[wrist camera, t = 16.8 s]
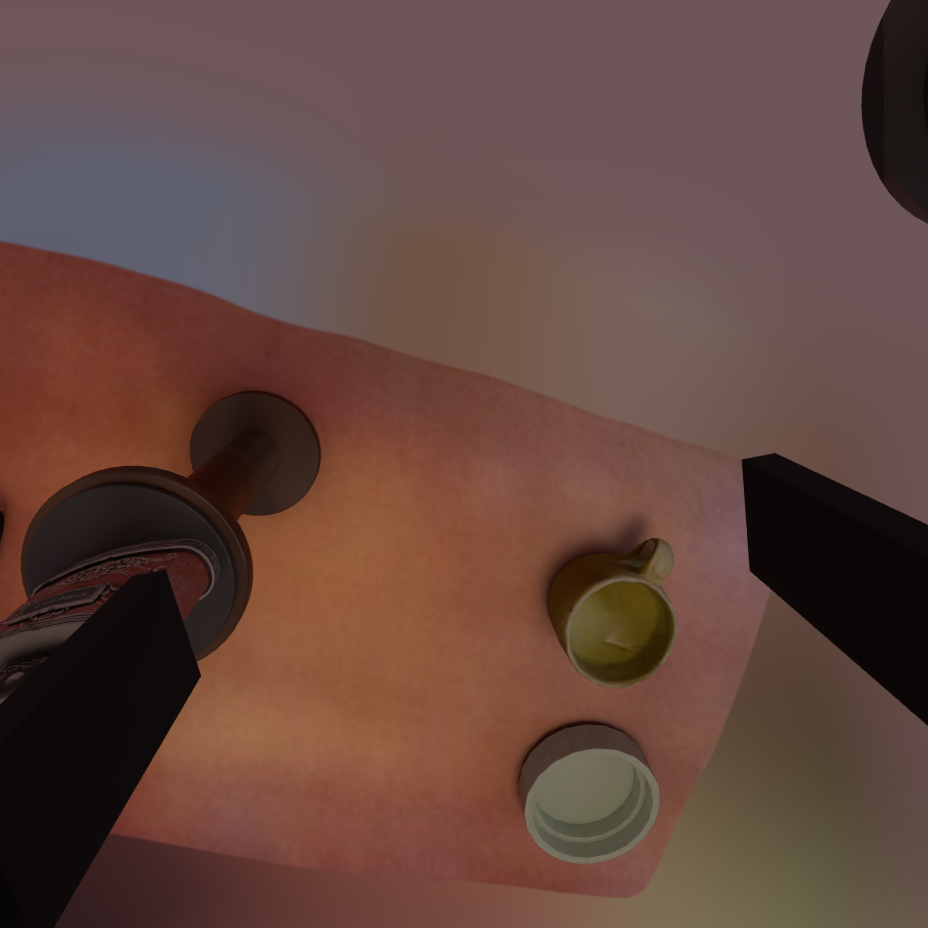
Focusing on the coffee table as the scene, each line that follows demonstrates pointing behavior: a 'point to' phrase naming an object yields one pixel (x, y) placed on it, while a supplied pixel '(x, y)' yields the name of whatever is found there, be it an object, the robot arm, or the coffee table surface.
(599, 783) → the bowl
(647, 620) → the mug
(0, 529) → the glasses
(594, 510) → the coffee table surface
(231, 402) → the stand
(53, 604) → the lighter
